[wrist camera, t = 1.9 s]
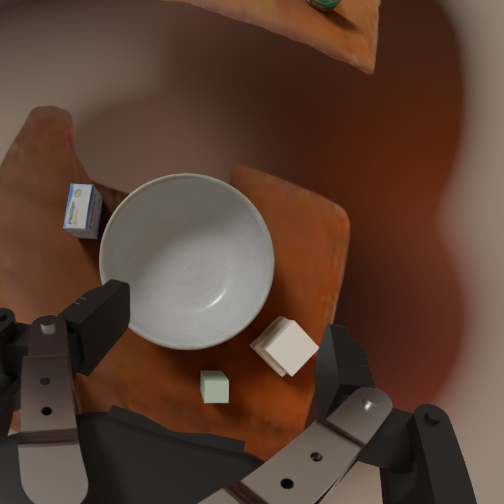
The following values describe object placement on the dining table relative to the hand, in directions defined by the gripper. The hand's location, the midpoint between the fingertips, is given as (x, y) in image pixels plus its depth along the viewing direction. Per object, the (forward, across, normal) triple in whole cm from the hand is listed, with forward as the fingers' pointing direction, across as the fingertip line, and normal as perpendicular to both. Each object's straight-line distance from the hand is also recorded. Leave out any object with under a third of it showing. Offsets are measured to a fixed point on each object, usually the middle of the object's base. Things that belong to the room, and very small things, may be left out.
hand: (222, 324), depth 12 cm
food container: (+90, +3, +58) cm, 107 cm away
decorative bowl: (+42, -14, -17) cm, 47 cm away
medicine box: (+40, -33, -10) cm, 53 cm away
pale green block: (+34, -5, -35) cm, 49 cm away
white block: (+38, +7, -27) cm, 47 cm away
